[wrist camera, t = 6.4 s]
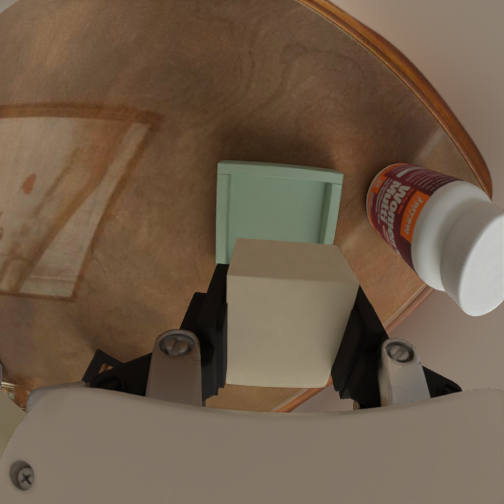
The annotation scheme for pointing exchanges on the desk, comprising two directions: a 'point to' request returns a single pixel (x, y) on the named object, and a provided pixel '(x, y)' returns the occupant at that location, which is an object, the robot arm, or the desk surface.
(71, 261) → the desk surface
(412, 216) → the pill bottle
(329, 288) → the beige block
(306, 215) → the shallow square green tray
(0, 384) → the bowl
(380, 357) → the robot arm
